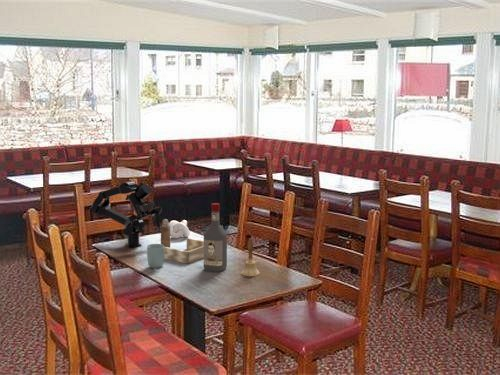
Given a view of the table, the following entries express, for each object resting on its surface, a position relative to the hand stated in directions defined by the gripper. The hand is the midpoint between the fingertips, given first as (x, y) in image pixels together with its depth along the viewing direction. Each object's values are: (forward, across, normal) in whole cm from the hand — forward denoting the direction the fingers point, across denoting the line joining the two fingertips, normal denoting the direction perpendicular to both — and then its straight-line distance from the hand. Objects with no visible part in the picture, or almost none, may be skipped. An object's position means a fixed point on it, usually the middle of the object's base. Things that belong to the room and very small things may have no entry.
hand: (151, 230), depth 307 cm
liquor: (+35, +4, -30) cm, 46 cm away
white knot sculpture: (+4, +23, +18) cm, 30 cm away
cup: (+21, -16, -17) cm, 31 cm away
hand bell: (+45, +11, -41) cm, 62 cm away
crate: (+21, +5, -11) cm, 25 cm away
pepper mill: (+13, +1, -1) cm, 13 cm away
